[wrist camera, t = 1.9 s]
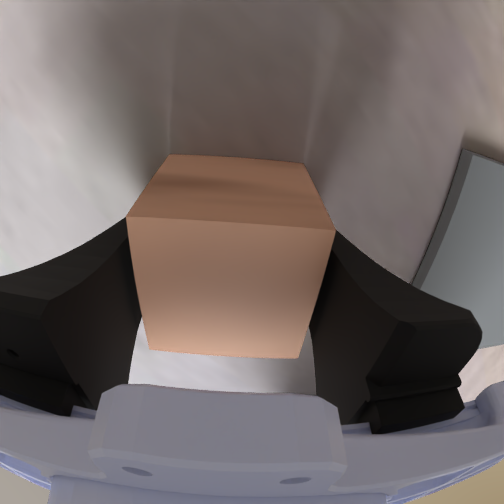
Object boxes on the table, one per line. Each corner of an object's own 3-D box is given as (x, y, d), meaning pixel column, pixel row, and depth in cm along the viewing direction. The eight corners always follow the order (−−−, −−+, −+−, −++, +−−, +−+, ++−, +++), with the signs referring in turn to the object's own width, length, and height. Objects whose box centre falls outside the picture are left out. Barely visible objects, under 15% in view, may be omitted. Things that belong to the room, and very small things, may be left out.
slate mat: (502, 336, 19) (506, 343, 18) (377, 350, 18) (380, 360, 17) (577, 198, 12) (584, 204, 11) (462, 148, 11) (473, 154, 10)
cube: (284, 268, 14) (297, 358, 10) (173, 261, 14) (149, 349, 10) (303, 162, 11) (335, 230, 7) (170, 153, 11) (125, 216, 7)
